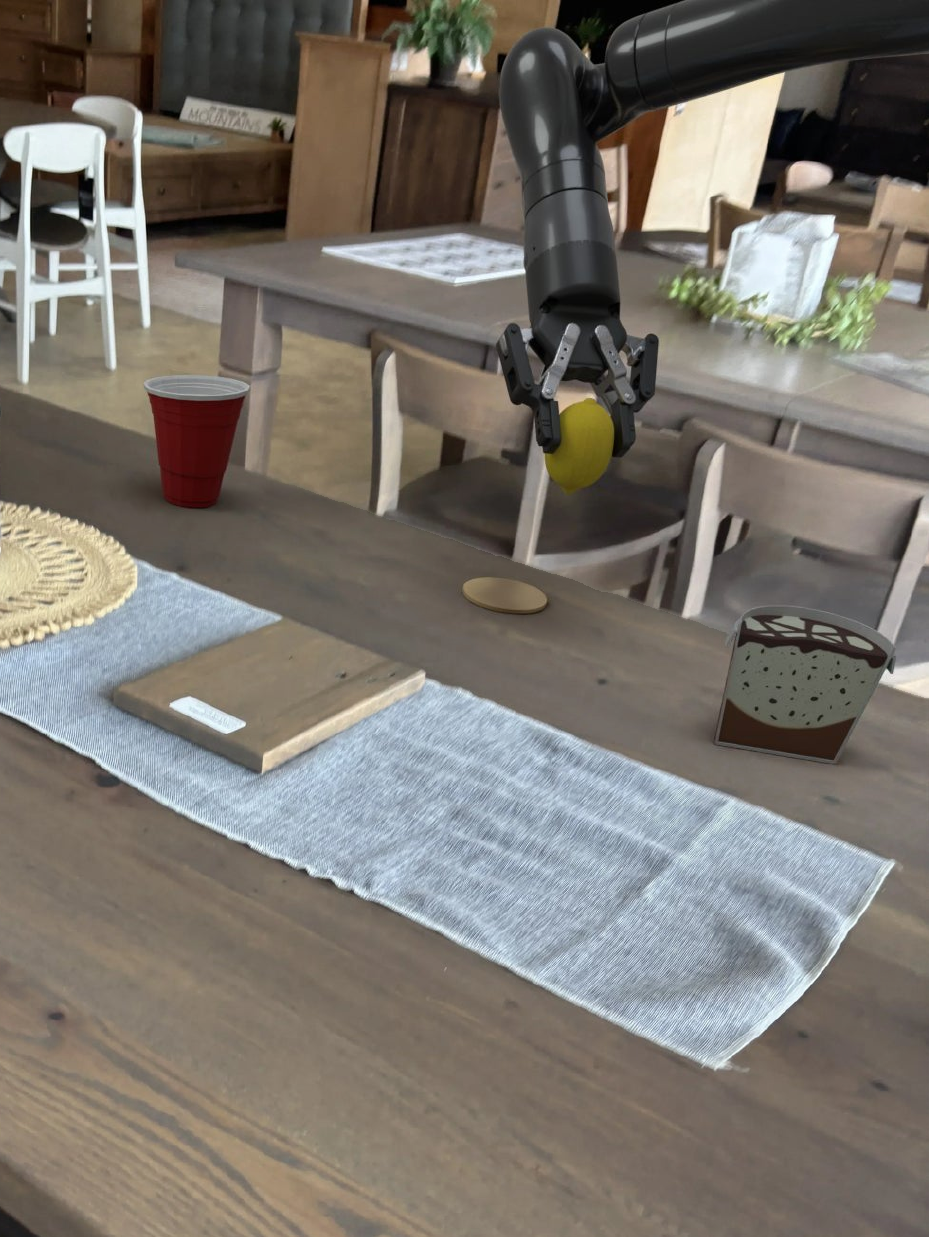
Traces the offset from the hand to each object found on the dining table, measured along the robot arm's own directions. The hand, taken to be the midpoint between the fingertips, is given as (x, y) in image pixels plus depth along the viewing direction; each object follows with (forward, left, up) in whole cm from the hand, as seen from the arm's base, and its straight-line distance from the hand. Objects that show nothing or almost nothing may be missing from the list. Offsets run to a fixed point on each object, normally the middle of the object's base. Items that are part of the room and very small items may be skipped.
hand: (587, 450), depth 111 cm
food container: (-12, +19, -17) cm, 28 cm away
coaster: (+1, -9, -16) cm, 19 cm away
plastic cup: (+28, -34, -17) cm, 47 cm away
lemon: (0, -2, -4) cm, 5 cm away
